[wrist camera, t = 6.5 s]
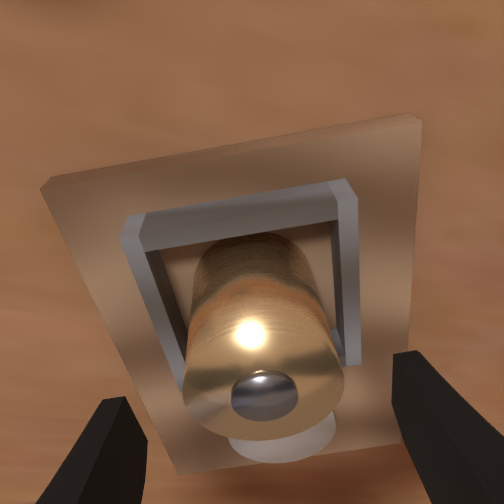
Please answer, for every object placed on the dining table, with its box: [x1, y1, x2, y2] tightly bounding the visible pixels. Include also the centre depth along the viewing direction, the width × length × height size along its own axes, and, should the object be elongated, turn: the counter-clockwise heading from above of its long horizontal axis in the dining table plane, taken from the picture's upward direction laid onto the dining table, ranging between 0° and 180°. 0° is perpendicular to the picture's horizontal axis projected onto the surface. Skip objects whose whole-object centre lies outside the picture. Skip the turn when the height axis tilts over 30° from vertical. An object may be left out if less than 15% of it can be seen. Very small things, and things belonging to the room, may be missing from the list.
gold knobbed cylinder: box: [182, 232, 344, 441], centre depth 13 cm, size 4×4×5 cm
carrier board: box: [40, 113, 422, 476], centre depth 17 cm, size 17×12×2 cm
